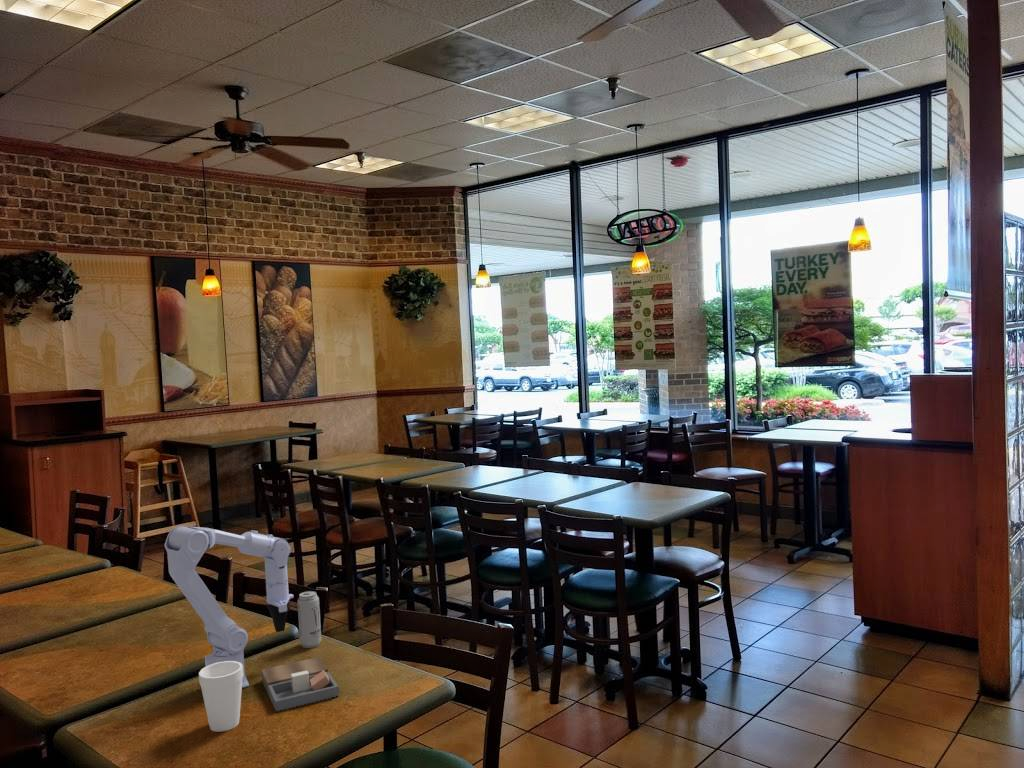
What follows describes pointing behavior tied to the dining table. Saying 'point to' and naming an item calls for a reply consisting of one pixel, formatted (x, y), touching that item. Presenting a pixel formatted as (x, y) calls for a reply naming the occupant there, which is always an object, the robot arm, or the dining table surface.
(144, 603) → the dining table surface
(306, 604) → the energy drink can
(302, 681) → the tile
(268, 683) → the board
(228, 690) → the foam cup
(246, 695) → the dining table surface
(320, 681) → the tile
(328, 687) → the box
